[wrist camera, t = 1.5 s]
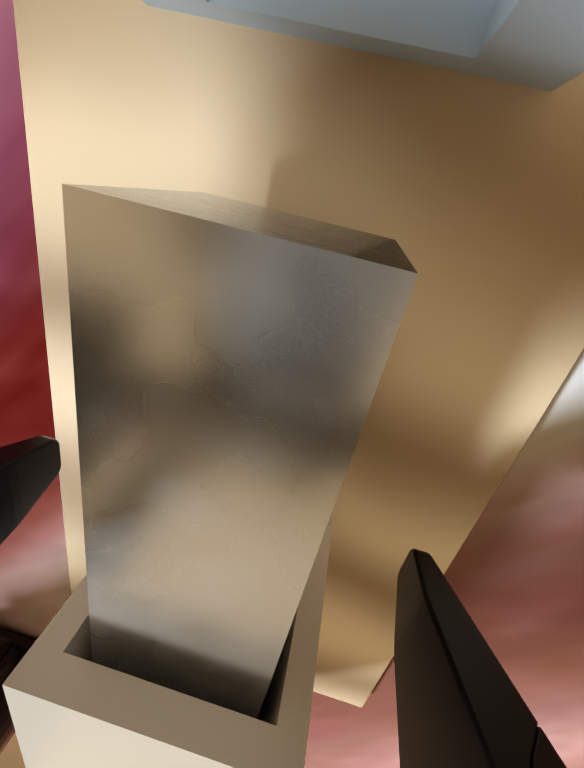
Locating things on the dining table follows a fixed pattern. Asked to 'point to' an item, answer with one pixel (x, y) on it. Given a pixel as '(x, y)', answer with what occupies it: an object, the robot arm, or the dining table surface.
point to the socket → (427, 31)
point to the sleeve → (158, 701)
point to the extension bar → (215, 420)
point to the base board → (347, 209)
